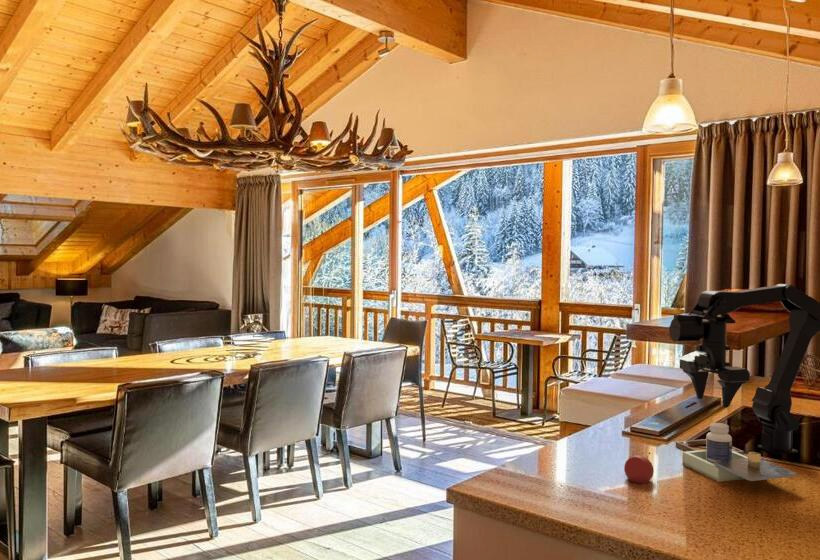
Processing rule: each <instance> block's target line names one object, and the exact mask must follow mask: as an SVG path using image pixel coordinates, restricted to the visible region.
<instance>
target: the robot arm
mask: <svg viewBox="0 0 820 560" xmlns="http://www.w3.org/2000/svg"><path fill="white" fill-rule="evenodd" d="M775 302H780V303H781V305H782V307H783V308H784V309H785V310H787V311H788V312H789V316H788V325H789V333H788V336H787V339H786V341H785V344H784V346H783V348H782V350H781V354H780V355H779V359H778V361H777V363H776V365H775V368H774V371H773V373H772V376H771V378H770V381H769V382H768V384H767V385H765V386H764V387H761V386H757V387H756V390H755V393H754V395H753V397H752V398H751V400H750V401H751V402H752V405H751V407H752V411H753V413H754V414H755V415H756V417H757V419H758V421H759V423H762V424H763V425H762V431H761V444H757V448H759V449H761V450H763V451H766V452H769V453H772V454H774V455H786V454H787V455H788V454H796V453H798V450H797V449H794V448H793V443H794V442H793V437H794V436H793V434H794V433H793V432H794V431H798V430H799V427H800V425H801V423H800V421H799V419H797V418H796V417H795V416H794V414H792V413H791V411H792V405H793V402H792V401H793V400H792V394H791V390H792V388H793V386H794V383H795V380H796V378H797V375H798V374H799V371H800V368H801V366H802V363H803V360H804V359H805V355H806V354H807V351H808V348H809V345H810V343H811V341H812V339H813V338H814V337H815V336H816V335H817V334H819V333H820V301H818V300H817V299H816V298H813V297H812V296H810V295H809V294H806V293H805V292H803V291H802V290H800V289H798V287H796V286H794V285H793V284H788V283H778V284H776V285H771V286H763V287H756V288H750V289H743V290H736V291H731V290H730V291H729V290H728V291H727V290H704V291H702V292H701V293H700V295H699V297H698V299H697V302H696V303H695V305H694V306H693V308H692V309H691V310H690V312H689V313H688V314H680V313H674V314H673V319H672V320H671V321H670V325H669V326H668V332H669V337H670V338H671V340H672V342H674V343H675V342H677V343H678V342H679V343H680V342H683V343H684V342H699V341H700V343H699V344H697V345H696V347H695V351H692V352H689V353H687V354H685V355H683V356H681V357H679V370H680V369H681V371H682V372H683V374H684V373H685V374H686V375H687V376H688V377H689V378H690V380H691V383H692V384H693V388H694V391H695V394H696V397H697V399H698V400H703V398H704V394H705V391H706V387H707V382H708V377H709V374H710V373H712V374H713V373H714V374H717V376H718V379H717V382H718V384H719V385H720V386H721V392H722V393H721V396H722V397H721V399H722V400H721V401H722V407H723V408H727V409H728V408H729V407H730V405H731V403H732V401H733V399H734V398H735V395H736V394H737V392H738V391H739V389H740V388H741V387H742V385H743V384H746V383H747V382H750V379H751V372H750V371H749V370H748V368H745V367H744V368H743V367H740V366H731V362H728V361H727V351H731V345H727V332H728V331H727V326H728V325H727V324H736V319H734V318H733V317H732V316H731V315H730V313H732V312H735V311H737V310H738V309H740V308H743V307H749V306H755V305H756V306H757V305H763V304H768V303H775Z"/></svg>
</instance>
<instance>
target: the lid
mask: <svg viewBox="0 0 820 560" xmlns="http://www.w3.org/2000/svg"><path fill="white" fill-rule="evenodd" d="M761 455H762V453H760V452H757V451H749V452H748V453H747V457H748V458H744V459H734V460H724V461H714V462H713V464H714V465H716V466H718V467H721V468H723V469H725V470H727V471H729V472H732V473H734V474H736V475H738V476H740V477H743V478H745V479H744V480H747V481H749V482H755V481H756V482H757V481H762V480H763V481H764V480H773V479H774V480H775V479H783V478H792V477H797V476H798V473H797V472H795V471H792V470H790V469H788V468H784V467H782V466H780V465H778V464H775V463H772V462H771V461H767V460H765V459H763V458H762V457H761Z"/></svg>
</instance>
